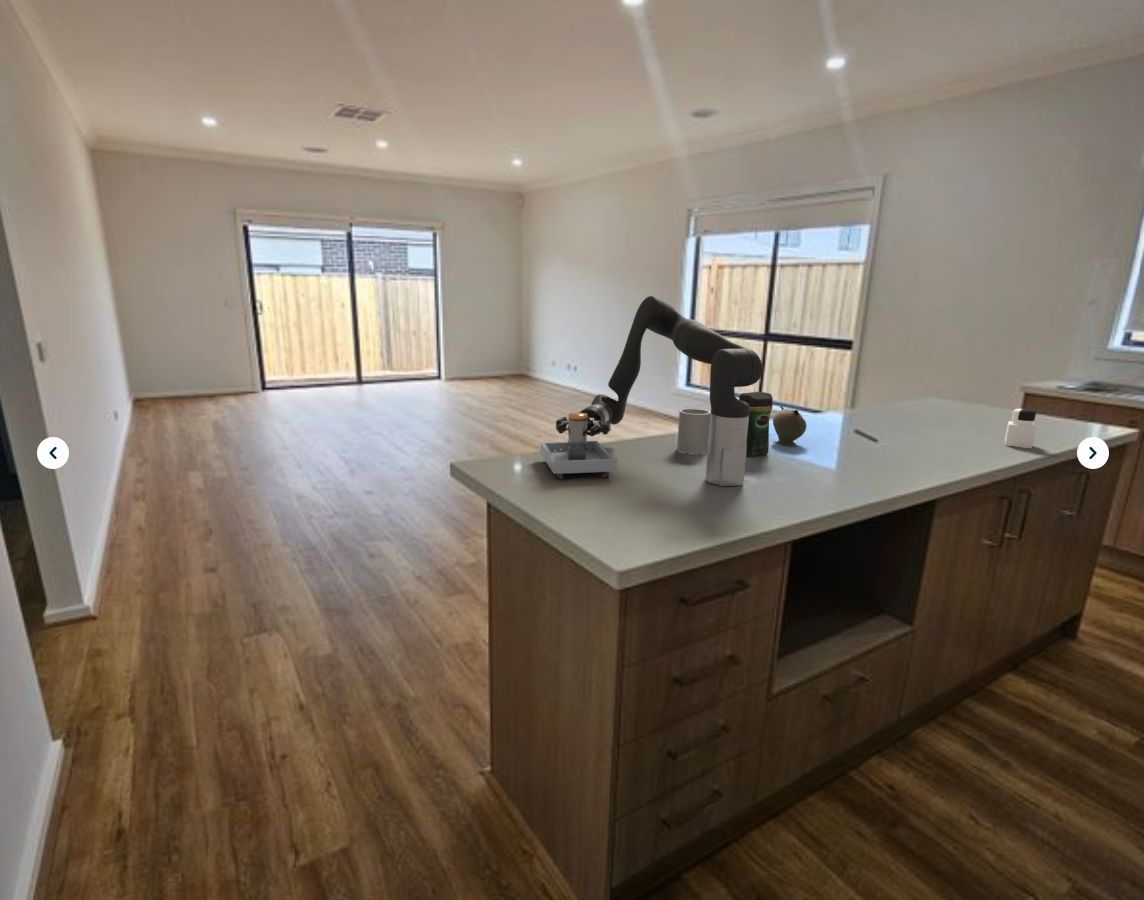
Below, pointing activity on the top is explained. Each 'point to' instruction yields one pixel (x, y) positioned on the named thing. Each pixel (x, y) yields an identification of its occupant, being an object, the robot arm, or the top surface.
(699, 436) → the cup
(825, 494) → the top surface
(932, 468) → the top surface
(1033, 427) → the medicine bottle
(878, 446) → the top surface
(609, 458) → the dolly
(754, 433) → the coffee jar
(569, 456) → the canister
